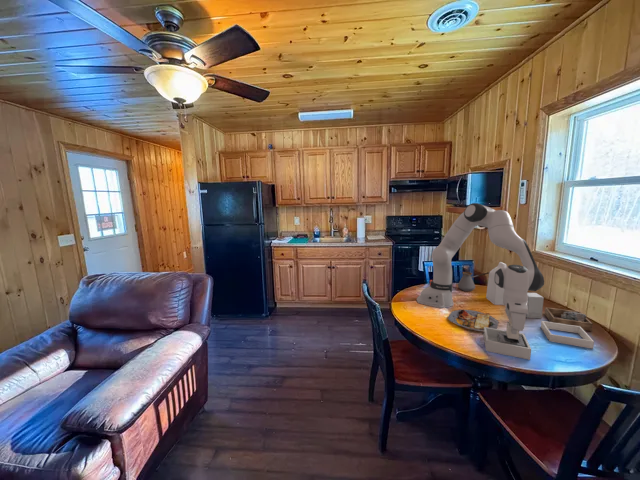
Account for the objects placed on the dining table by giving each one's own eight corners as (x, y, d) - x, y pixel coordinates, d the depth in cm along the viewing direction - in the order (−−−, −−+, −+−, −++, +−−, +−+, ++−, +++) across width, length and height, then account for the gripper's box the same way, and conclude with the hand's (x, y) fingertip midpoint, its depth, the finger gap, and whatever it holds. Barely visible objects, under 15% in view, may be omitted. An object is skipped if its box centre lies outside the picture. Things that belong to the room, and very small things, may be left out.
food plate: (455, 309, 163) (455, 303, 162) (500, 319, 148) (500, 313, 147) (444, 326, 144) (444, 320, 143) (494, 339, 129) (495, 333, 128)
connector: (507, 337, 118) (509, 321, 117) (506, 333, 122) (507, 317, 121) (518, 339, 116) (520, 323, 115) (516, 335, 120) (518, 319, 119)
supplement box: (542, 318, 147) (544, 297, 145) (527, 318, 148) (529, 296, 146) (534, 313, 154) (536, 292, 152) (520, 312, 155) (521, 292, 153)
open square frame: (549, 341, 125) (550, 334, 124) (540, 327, 138) (541, 320, 137) (593, 348, 118) (594, 341, 117) (579, 333, 131) (580, 326, 130)
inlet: (499, 349, 118) (500, 341, 117) (497, 340, 126) (497, 332, 125) (524, 354, 114) (525, 346, 113) (520, 344, 122) (521, 336, 121)
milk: (514, 305, 165) (518, 265, 161) (494, 304, 167) (497, 265, 163) (504, 298, 177) (507, 260, 173) (486, 297, 179) (488, 260, 175)
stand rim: (552, 325, 139) (553, 318, 139) (544, 313, 153) (545, 307, 152) (591, 331, 132) (592, 323, 132) (579, 318, 145) (580, 311, 145)
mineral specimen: (565, 332, 141) (586, 328, 139) (571, 328, 135) (594, 324, 133) (553, 315, 147) (574, 311, 145) (559, 310, 140) (580, 306, 138)
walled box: (485, 350, 119) (486, 340, 118) (483, 336, 131) (484, 326, 130) (530, 360, 111) (531, 349, 110) (523, 343, 123) (524, 333, 123)
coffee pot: (457, 291, 193) (458, 271, 190) (457, 286, 203) (458, 267, 200) (492, 294, 184) (493, 274, 181) (489, 289, 194) (491, 269, 191)
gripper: (502, 293, 127) (500, 319, 129) (510, 309, 109) (507, 340, 111) (518, 294, 124) (516, 322, 126) (529, 311, 106) (526, 343, 108)
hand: (512, 330), depth 119 cm, fingers closed on connector, 4 cm apart
